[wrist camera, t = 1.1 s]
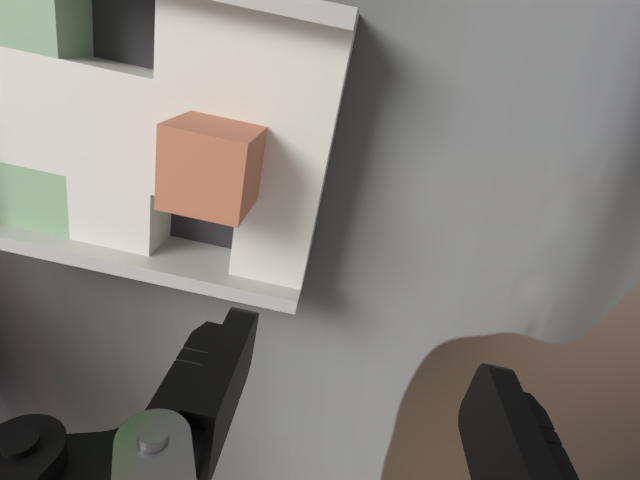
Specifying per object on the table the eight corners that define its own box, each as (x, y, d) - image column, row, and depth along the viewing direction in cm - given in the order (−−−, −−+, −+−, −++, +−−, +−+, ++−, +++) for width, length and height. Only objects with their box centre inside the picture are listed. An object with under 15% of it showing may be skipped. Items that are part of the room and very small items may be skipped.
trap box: (359, 14, 26) (357, 7, 21) (305, 273, 33) (295, 314, 28) (-20, -68, 26) (-113, -94, 21) (14, 209, 33) (-48, 239, 28)
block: (267, 126, 25) (248, 144, 21) (257, 199, 27) (237, 227, 23) (191, 110, 25) (156, 123, 21) (186, 183, 27) (154, 209, 23)
